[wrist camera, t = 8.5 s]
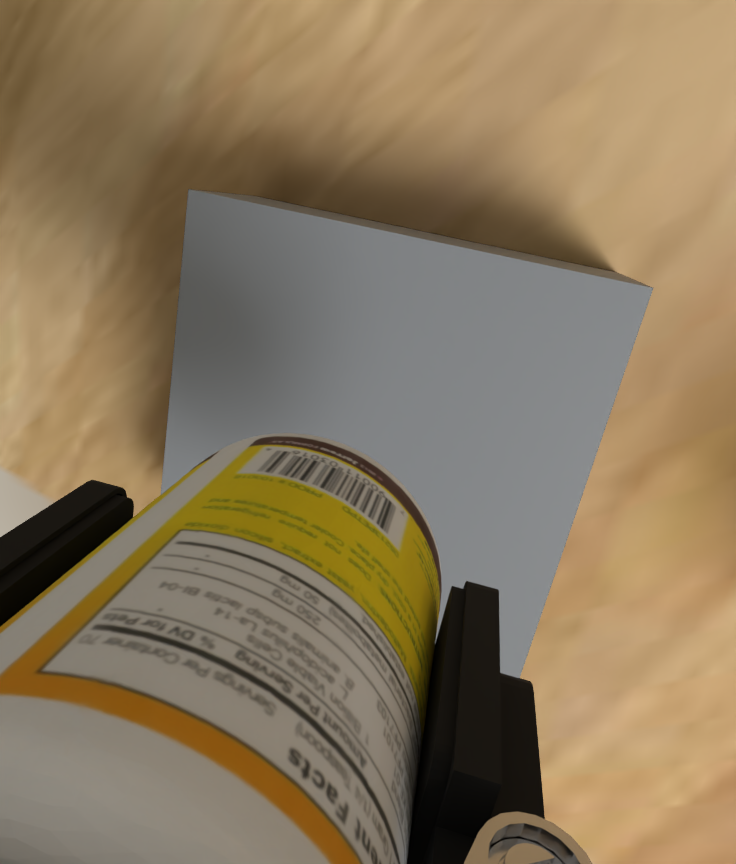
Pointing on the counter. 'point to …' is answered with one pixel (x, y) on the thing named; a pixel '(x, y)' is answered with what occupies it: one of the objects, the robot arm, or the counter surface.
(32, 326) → the counter surface
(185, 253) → the base block
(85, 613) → the supplement bottle
